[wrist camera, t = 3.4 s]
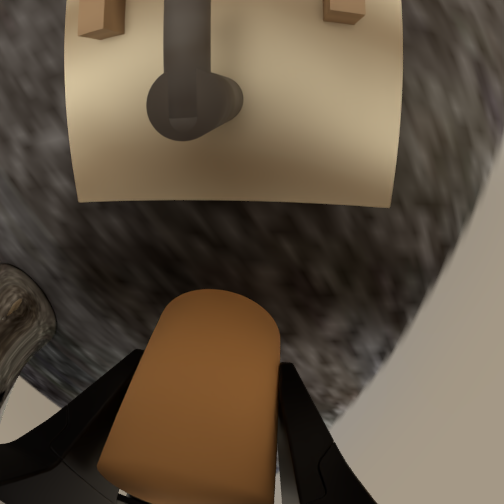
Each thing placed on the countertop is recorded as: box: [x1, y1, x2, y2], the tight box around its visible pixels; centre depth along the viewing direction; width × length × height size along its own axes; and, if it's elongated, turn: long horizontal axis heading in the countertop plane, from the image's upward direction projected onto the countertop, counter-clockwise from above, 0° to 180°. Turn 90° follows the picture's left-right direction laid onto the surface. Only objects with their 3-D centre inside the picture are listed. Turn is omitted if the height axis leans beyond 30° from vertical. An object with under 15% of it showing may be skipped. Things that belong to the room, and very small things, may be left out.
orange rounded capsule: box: [97, 289, 280, 504], centre depth 8 cm, size 4×4×6 cm
